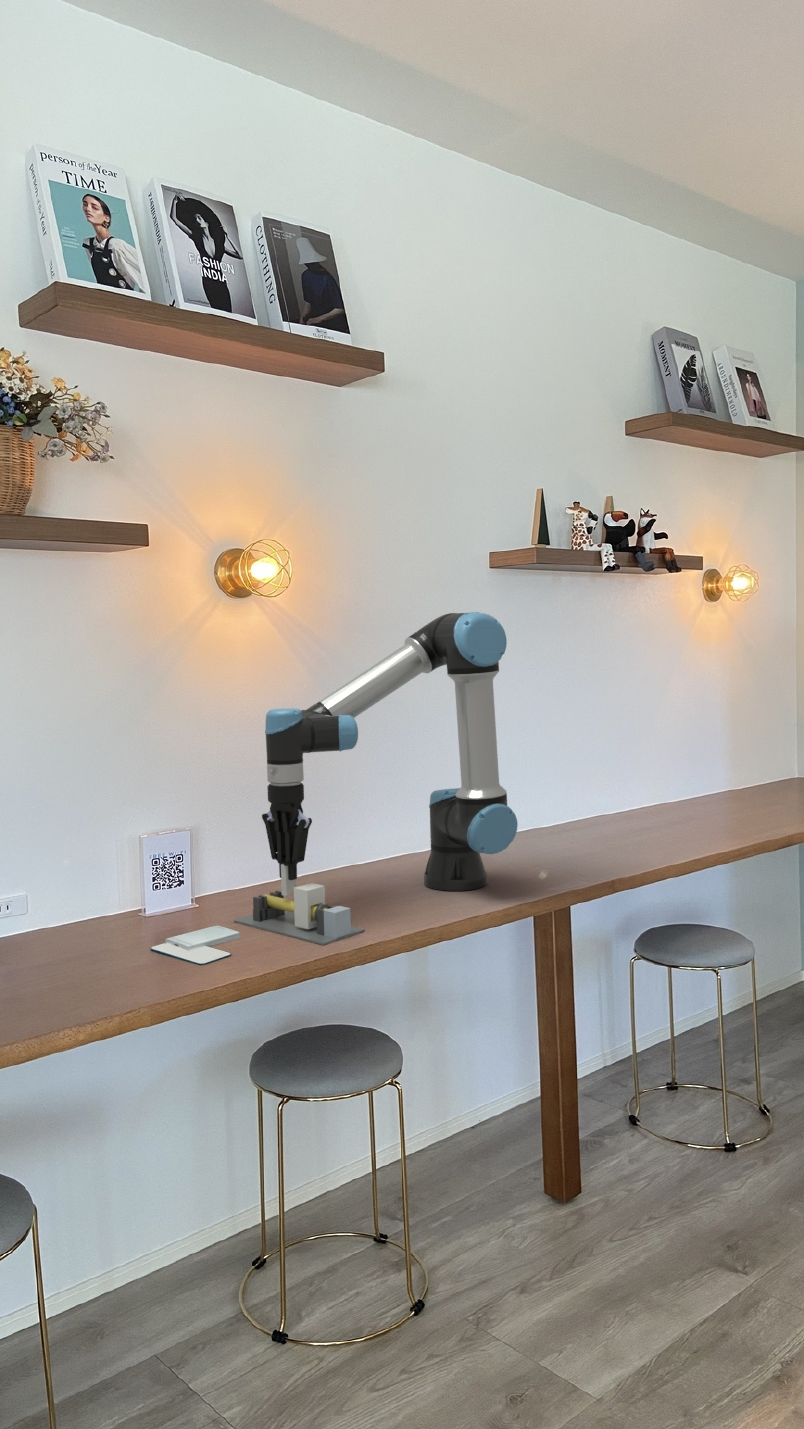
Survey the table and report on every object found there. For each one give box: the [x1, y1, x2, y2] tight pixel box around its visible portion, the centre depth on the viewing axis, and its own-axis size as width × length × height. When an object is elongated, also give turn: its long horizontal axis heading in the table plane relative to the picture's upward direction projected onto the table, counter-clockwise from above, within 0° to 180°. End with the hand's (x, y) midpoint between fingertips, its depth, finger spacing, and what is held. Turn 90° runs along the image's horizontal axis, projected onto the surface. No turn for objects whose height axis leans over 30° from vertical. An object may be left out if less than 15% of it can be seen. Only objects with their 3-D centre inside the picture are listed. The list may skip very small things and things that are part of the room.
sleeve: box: [293, 882, 326, 929], centre depth 219 cm, size 4×5×8 cm
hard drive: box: [164, 925, 241, 950], centre depth 213 cm, size 2×8×12 cm
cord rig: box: [233, 890, 366, 946], centre depth 221 cm, size 27×12×6 cm, turn 49°
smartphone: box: [150, 942, 232, 966], centre depth 205 cm, size 8×1×16 cm
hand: (288, 894), depth 223 cm, fingers closed
